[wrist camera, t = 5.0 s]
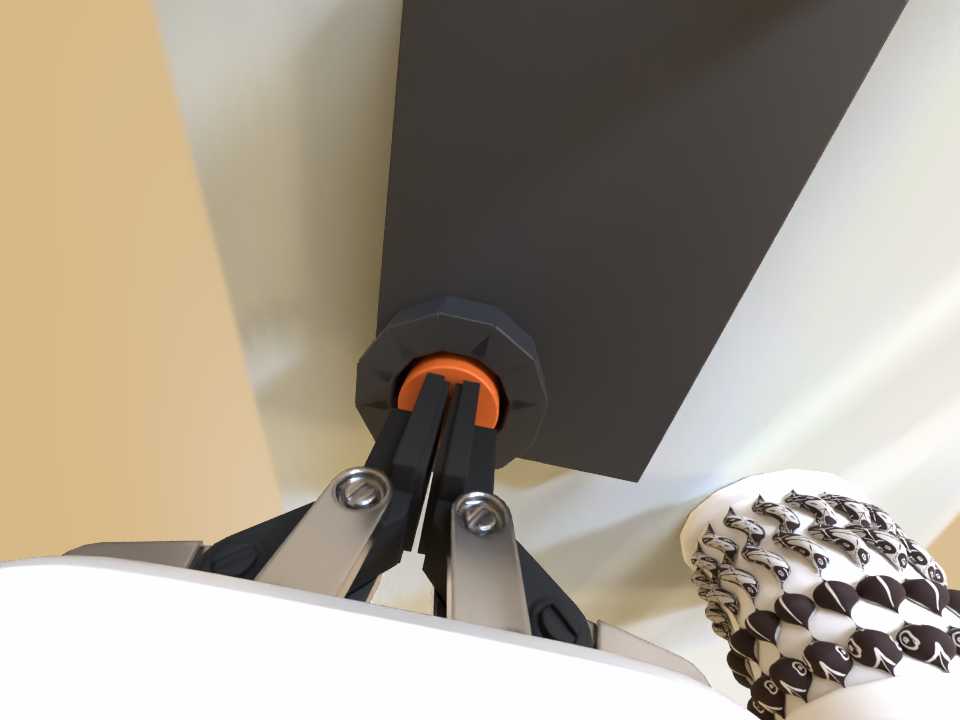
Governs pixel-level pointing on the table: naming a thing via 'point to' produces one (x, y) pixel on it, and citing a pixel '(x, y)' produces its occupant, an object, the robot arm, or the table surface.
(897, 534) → the decorative candle
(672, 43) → the scale
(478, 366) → the tare button
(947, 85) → the table surface
